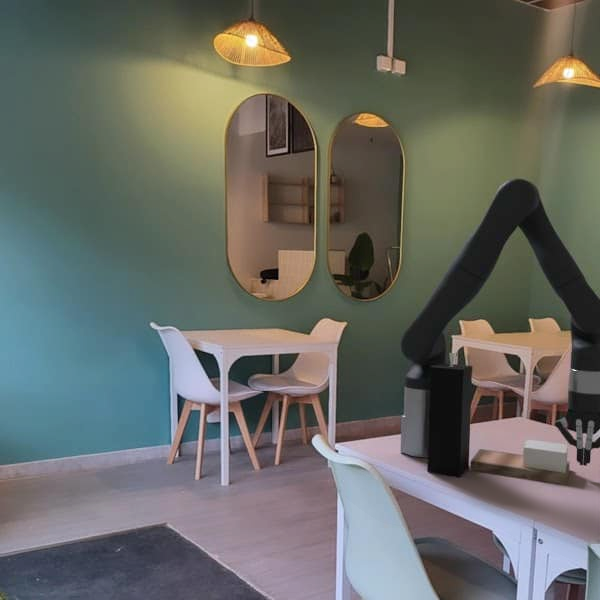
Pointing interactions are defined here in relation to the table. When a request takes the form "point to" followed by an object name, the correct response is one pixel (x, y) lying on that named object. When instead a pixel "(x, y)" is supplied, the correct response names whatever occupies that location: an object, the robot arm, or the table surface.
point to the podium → (514, 467)
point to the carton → (545, 456)
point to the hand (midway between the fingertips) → (583, 464)
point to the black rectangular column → (449, 418)
